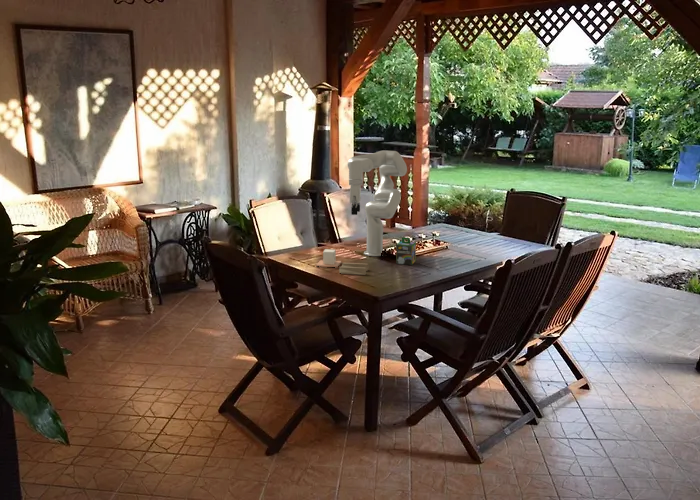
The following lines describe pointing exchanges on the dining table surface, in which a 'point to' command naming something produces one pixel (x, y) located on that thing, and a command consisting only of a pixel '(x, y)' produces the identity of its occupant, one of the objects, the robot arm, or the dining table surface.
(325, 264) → the terracotta tile
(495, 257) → the dining table surface
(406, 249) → the chalk box
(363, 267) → the slot rack
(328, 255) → the cream block
